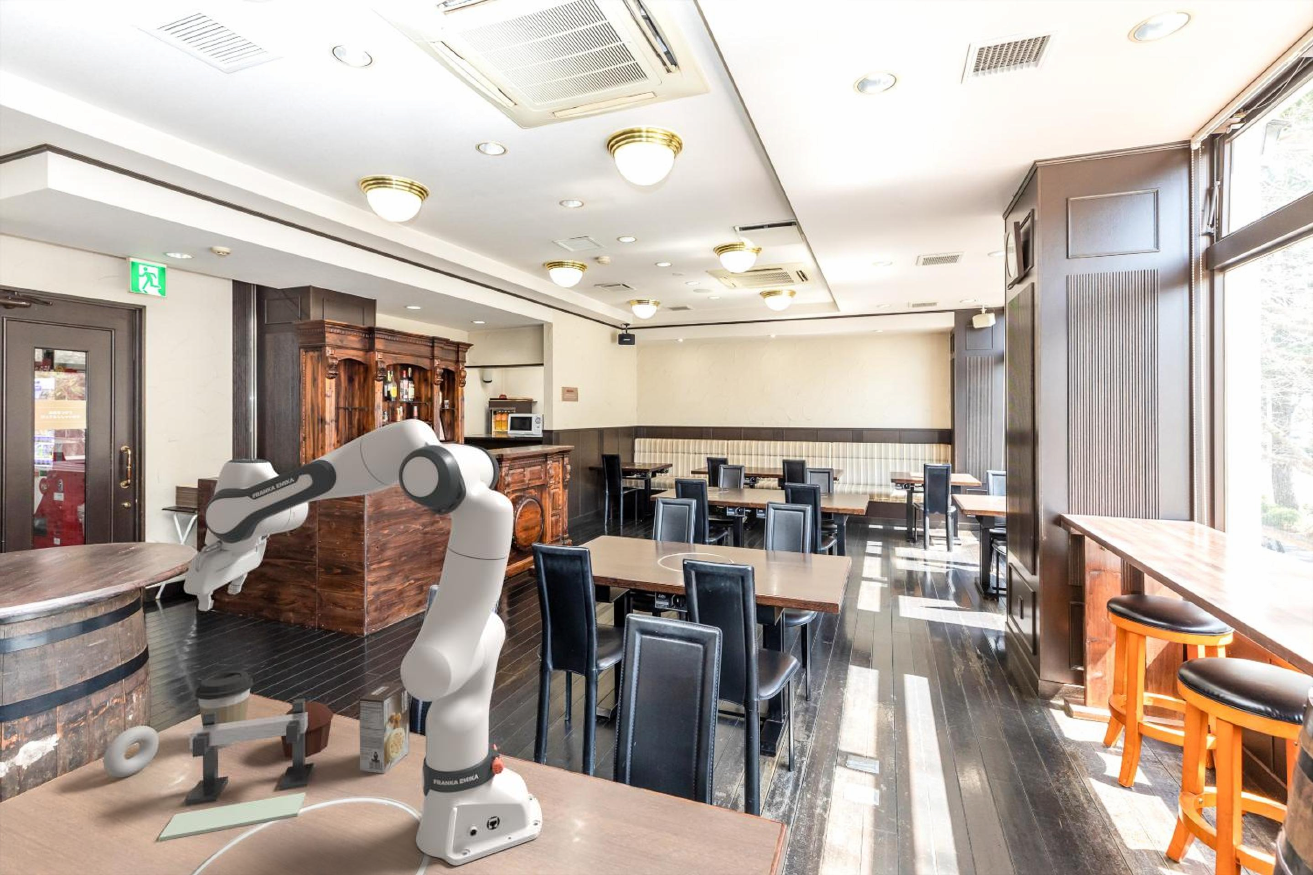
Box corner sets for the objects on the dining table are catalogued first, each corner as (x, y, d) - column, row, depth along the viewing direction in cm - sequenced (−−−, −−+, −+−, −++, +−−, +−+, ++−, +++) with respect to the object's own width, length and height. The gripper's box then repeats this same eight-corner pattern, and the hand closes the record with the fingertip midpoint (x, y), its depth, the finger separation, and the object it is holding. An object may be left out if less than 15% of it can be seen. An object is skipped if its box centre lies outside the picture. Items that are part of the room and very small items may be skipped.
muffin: (325, 758, 136) (325, 714, 136) (270, 765, 133) (269, 720, 133) (338, 732, 148) (338, 692, 148) (287, 738, 145) (287, 697, 145)
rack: (313, 768, 132) (313, 695, 132) (305, 788, 125) (305, 711, 124) (199, 786, 125) (199, 709, 125) (183, 809, 118) (183, 727, 118)
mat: (305, 794, 122) (305, 792, 122) (297, 815, 116) (297, 812, 116) (175, 817, 115) (175, 814, 115) (158, 840, 109) (158, 837, 109)
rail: (307, 725, 129) (307, 712, 129) (304, 732, 126) (304, 718, 126) (195, 741, 122) (195, 726, 122) (189, 748, 119) (189, 733, 119)
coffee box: (385, 749, 140) (385, 680, 140) (410, 752, 139) (410, 682, 139) (358, 770, 131) (358, 697, 131) (384, 774, 130) (384, 700, 130)
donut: (109, 788, 125) (109, 740, 124) (99, 785, 126) (98, 737, 126) (163, 763, 134) (162, 718, 134) (152, 760, 135) (152, 716, 135)
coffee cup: (250, 724, 152) (250, 664, 152) (256, 742, 143) (256, 679, 143) (194, 738, 145) (193, 676, 144) (196, 758, 136) (195, 692, 136)
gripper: (217, 552, 112) (203, 623, 113) (275, 527, 132) (263, 587, 133) (181, 545, 111) (167, 617, 112) (245, 521, 132) (233, 581, 132)
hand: (219, 600), depth 123 cm, fingers open, 8 cm apart
